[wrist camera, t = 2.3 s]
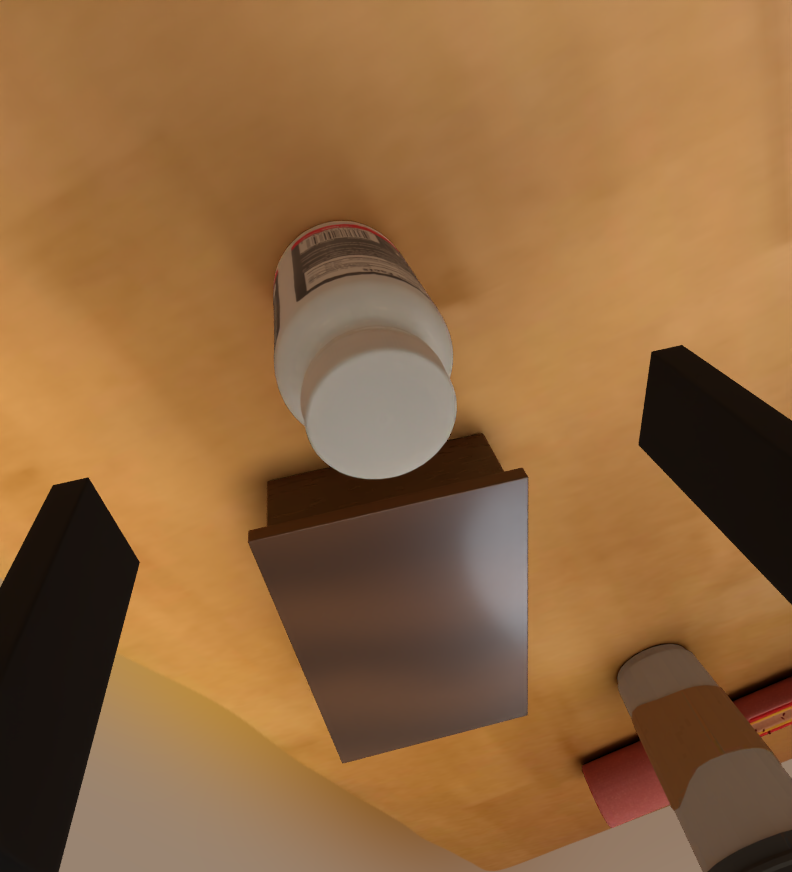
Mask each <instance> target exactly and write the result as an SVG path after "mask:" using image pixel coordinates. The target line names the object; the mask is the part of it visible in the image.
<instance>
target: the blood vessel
mask: <svg viewBox="0 0 792 872" xmlns="http://www.w3.org/2000/svg"><path fill="white" fill-rule="evenodd" d="M733 703H734V704H735V706H736V707H737V708H738V709H739V711H740V712H741V713H742V714H743V716H744V717H745V718H746V719H747V721H748V722H749V723H750V724H751V726H752V727H753V728H754V729H755V731H756V732H757V733H758V734H759V736H760V737H762V736H764V735H767V734H771V733H772V732H774V731H777V730H779V729H781V728H784V727H786V726H789V725H791V724H792V676H791V677H789V678H787V679H784V680H782V681H780V682H777V683H775V684H773V685H770V686H768V687H766V688H763V689H761V690H758V691H756V692H754V693H751V694H749V695H747V696H744V697H742V698H740V699H737V700H735V701H733ZM582 771H583V773H584V776H585V779H586V781H587V784H588V786H589V788H590V791H591V793H592V795H593V797H594V800H595V802H596V804H597V806H598V808H599V810H600V812H601V814H602V816H603V817H604V819H605V821H606V823H607V824H608V825H609V826H610V827H611V828H613V827H616V826H618V825H620V824H623V823H625V822H628V821H630V820H633V819H635V818H638V817H640V816H643V815H645V814H647V813H650V812H652V811H655V810H657V809H660V808H662V807H665V806H667V805H670V803H669V801H668V799H667V797H666V795H665V792H664V790H663V788H662V786H661V784H660V782H659V779H658V777H657V775H656V773H655V771H654V769H653V766H652V764H651V762H650V760H649V758H648V756H647V753H646V751H645V749H644V747H643V745H642V743H641V741H639V742H636V743H634V744H631V745H629V746H627V747H624V748H622V749H620V750H617V751H615V752H613V753H610V754H608V755H606V756H603V757H601V758H599V759H596V760H594V761H591V762H589V763H587V764H584V765H583V766H582Z"/></svg>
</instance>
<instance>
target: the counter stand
mask: <svg viewBox="0 0 792 872" xmlns="http://www.w3.org/2000/svg"><path fill="white" fill-rule="evenodd" d="M248 543H249V546H250V548H251V550H252V553H253V555H254V557H255V560H256V562H257V564H258V567H259V569H260V571H261V574H262V576H263V578H264V581H265V583H266V585H267V588H268V590H269V592H270V595H271V597H272V599H273V602H274V604H275V606H276V609H277V611H278V613H279V616H280V618H281V620H282V623H283V625H284V628H285V630H286V632H287V635H288V637H289V639H290V642H291V644H292V646H293V649H294V651H295V653H296V656H297V658H298V660H299V663H300V665H301V667H302V670H303V672H304V674H305V677H306V679H307V681H308V684H309V686H310V688H311V691H312V693H313V695H314V698H315V700H316V703H317V705H318V707H319V710H320V712H321V714H322V717H323V719H324V721H325V724H326V726H327V728H328V731H329V733H330V735H331V738H332V740H333V742H334V745H335V747H336V749H337V752H338V754H339V756H340V759H341V761H342V763H347V762H351V761H354V760H358V759H362V758H366V757H370V756H373V755H377V754H381V753H385V752H389V751H393V750H396V749H400V748H404V747H408V746H412V745H415V744H419V743H423V742H427V741H431V740H435V739H438V738H442V737H446V736H450V735H454V734H457V733H461V732H465V731H469V730H473V729H477V728H480V727H484V726H488V725H492V724H496V723H499V722H503V721H507V720H511V719H515V718H518V717H522V716H526V715H527V714H528V476H527V474H526V473H525V471H524V469H523V468H518V469H514V470H510V471H505V472H504V471H503V469H502V467H501V465H500V463H499V462H498V460H497V458H496V456H495V454H494V453H493V451H492V449H491V447H490V445H489V443H488V442H487V440H486V438H485V436H484V434H483V433H481V434H477V435H472V436H468V437H463V438H459V439H454V440H450V441H446V442H445V444H444V445H443V446H442V448H441V449H440V450H439V451H438V452H437V453H436V454H435V455H434V456H433V457H432V458H431V459H430V460H428V461H427V462H426V463H424V464H423V465H421V466H419V467H418V468H416V469H414V470H412V471H410V472H408V473H405V474H402V475H400V476H396V477H391V478H384V479H363V478H357V477H352V476H349V475H346V474H343V473H341V472H339V471H337V470H336V469H334V468H332V467H330V468H325V469H321V470H316V471H312V472H308V473H303V474H299V475H294V476H290V477H285V478H281V479H276V480H272V481H268V482H267V526H266V527H262V528H258V529H253V530H249V532H248Z"/></svg>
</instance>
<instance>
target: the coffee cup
mask: <svg viewBox="0 0 792 872" xmlns="http://www.w3.org/2000/svg"><path fill="white" fill-rule="evenodd" d="M617 680H618V690H619V693H620V695H621V697H622V699H623V701H624V704H625V706H626V708H627V710H628V712H629V714H630V716H631V719H632V722H633V725H634V727H635V730H636V732H637V734H638V736H639V738H640V740H641V743H642V745H643V747H644V749H645V751H646V753H647V756H648V758H649V760H650V762H651V764H652V766H653V769H654V771H655V773H656V775H657V777H658V779H659V782H660V784H661V786H662V788H663V790H664V792H665V795H666V797H667V799H668V801H669V803H670V805H671V808H672V809H673V810H674V811H675V813H676V815H677V817H678V820H679V821H680V824H681V826H682V828H683V830H684V832H685V834H686V837H687V839H688V841H689V843H690V845H691V847H692V850H693V852H694V854H695V856H696V858H697V860H698V863H699V865H700V867H701V869H702V871H703V872H792V778H791V777H790V776H789V774H788V773H787V772H786V771H785V769H784V768H783V767H782V765H781V763H780V761H779V760H778V758H777V757H776V756H775V755H774V753H773V752H772V751H771V749H770V748H769V747H768V746H767V744H766V743H765V742H764V741H763V739H762V738H761V737H760V736H759V734H758V733H757V732H756V731H755V729H754V728H753V727H752V726H751V724H750V723H749V722H748V721H747V719H746V718H745V717H744V716H743V714H742V713H741V712H740V711H739V709H738V708H737V707H736V706H735V704H734V703H733V702H732V701H731V699H730V698H729V697H728V696H727V694H726V693H725V692H724V691H723V689H722V688H721V687H719V686H718V685H717V684H716V682H715V681H714V680H713V678H712V677H711V676H710V675H709V673H708V672H707V671H706V670H705V668H704V667H703V666H702V665H701V663H700V662H699V661H698V660H697V658H696V657H695V656H694V655H693V653H692V652H690V651H688V650H685V649H684V647H682V646H680V645H675V644H665V645H659V646H655V647H652V648H649V649H647V650H644V651H642V652H640V653H639V654H637V655H635V656H634V657H632V658H631V659H630V660H628V661H627V662H626V663H625V664H624V665H623V666H622V667H621V669H620V671H619V673H618V677H617Z"/></svg>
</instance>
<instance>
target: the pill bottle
mask: <svg viewBox="0 0 792 872" xmlns="http://www.w3.org/2000/svg"><path fill="white" fill-rule="evenodd" d="M273 305H274V368H275V376H276V380H277V384H278V388H279V391H280V393H281V396H282V398H283V400H284V402H285V404H286V406H287V407H288V409H289V410H290V411H291V413H292V414H293V415H294V416H295V418H296V419H297V420H298V421H300V422H301V423H302V424H303V425H304V426H305V429H306V433H307V436H308V439H309V441H310V444H311V445H312V447H313V449H314V451H315V452H316V454H317V455H318V456H319V457H320V458H321V459H322V460H323V461H324V462H325V463H327V464H328V465H329V466H330V467H332V468H334V469H336V470H337V471H339V472H341V473H343V474H346V475H349V476H352V477H357V478H363V479H384V478H391V477H396V476H400V475H402V474H405V473H408V472H410V471H412V470H414V469H416V468H418V467H419V466H421V465H423V464H424V463H426V462H427V461H428V460H430V459H431V458H432V457H433V456H434V455H435V454H436V453H437V452H438V451H439V450H440V449H441V448H442V446H443V445H444V444H445V442H446V441H447V439H448V438H449V436H450V433H451V431H452V429H453V426H454V423H455V419H456V412H457V402H456V395H455V391H454V388H453V385H452V382H451V380H450V376H451V371H452V365H453V347H452V341H451V337H450V334H449V331H448V328H447V325H446V323H445V321H444V319H443V317H442V315H441V314H440V312H439V311H438V309H437V307H436V306H435V304H434V303H433V302H432V300H431V298H430V297H429V295H428V294H427V293H426V291H425V289H424V288H423V287H422V285H421V284H420V282H419V281H418V279H417V278H416V276H415V275H414V273H413V272H412V270H411V268H410V267H409V266H408V264H407V263H406V261H405V259H404V258H403V256H402V255H401V254H400V252H399V251H398V250H397V248H396V247H395V246H394V245H393V244H392V243H391V242H390V241H389V240H388V239H387V238H386V237H385V236H384V235H383V234H381V233H380V232H378V231H376V230H375V229H373V228H371V227H369V226H366V225H364V224H361V223H357V222H352V221H332V222H327V223H323V224H320V225H317V226H315V227H313V228H310V229H308V230H307V231H305V232H303V233H302V234H301V235H299V236H298V237H297V238H296V239H295V240H294V241H293V242H292V243H291V244H290V245H289V246H288V247H287V249H286V250H285V252H284V254H283V255H282V257H281V259H280V261H279V263H278V266H277V269H276V272H275V277H274V286H273Z"/></svg>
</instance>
